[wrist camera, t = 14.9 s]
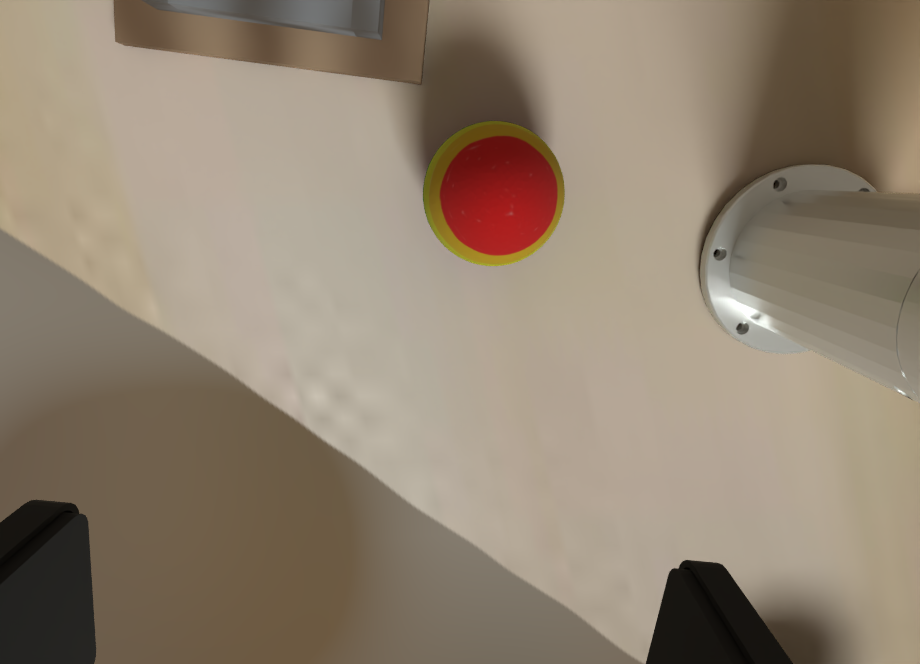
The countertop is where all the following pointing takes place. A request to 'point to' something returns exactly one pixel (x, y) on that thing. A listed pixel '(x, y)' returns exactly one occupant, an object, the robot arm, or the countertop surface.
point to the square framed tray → (286, 33)
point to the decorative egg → (493, 193)
